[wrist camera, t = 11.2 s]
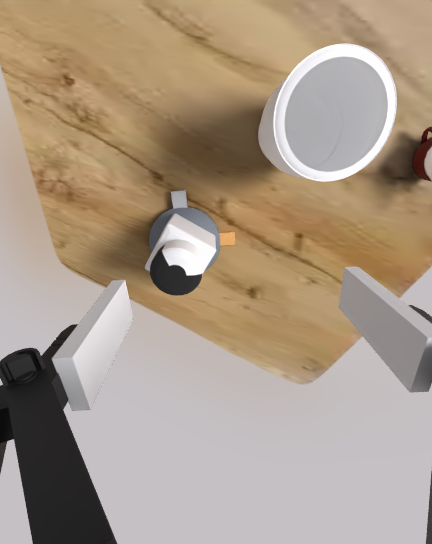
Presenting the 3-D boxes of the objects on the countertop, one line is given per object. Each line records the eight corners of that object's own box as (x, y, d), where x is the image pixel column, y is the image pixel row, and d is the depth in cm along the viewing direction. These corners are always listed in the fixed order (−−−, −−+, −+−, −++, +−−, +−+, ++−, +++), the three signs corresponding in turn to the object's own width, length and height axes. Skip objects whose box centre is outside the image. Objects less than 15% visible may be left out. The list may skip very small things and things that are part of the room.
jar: (242, 166, 38) (261, 170, 24) (259, 80, 34) (293, 28, 20) (313, 179, 39) (370, 191, 25) (338, 97, 35) (421, 58, 21)
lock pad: (141, 193, 39) (139, 194, 38) (231, 185, 39) (232, 186, 38) (159, 288, 45) (157, 291, 44) (236, 281, 45) (237, 284, 44)
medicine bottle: (194, 272, 43) (188, 312, 32) (153, 251, 42) (133, 285, 31) (216, 235, 41) (218, 264, 30) (174, 212, 39) (160, 232, 28)
